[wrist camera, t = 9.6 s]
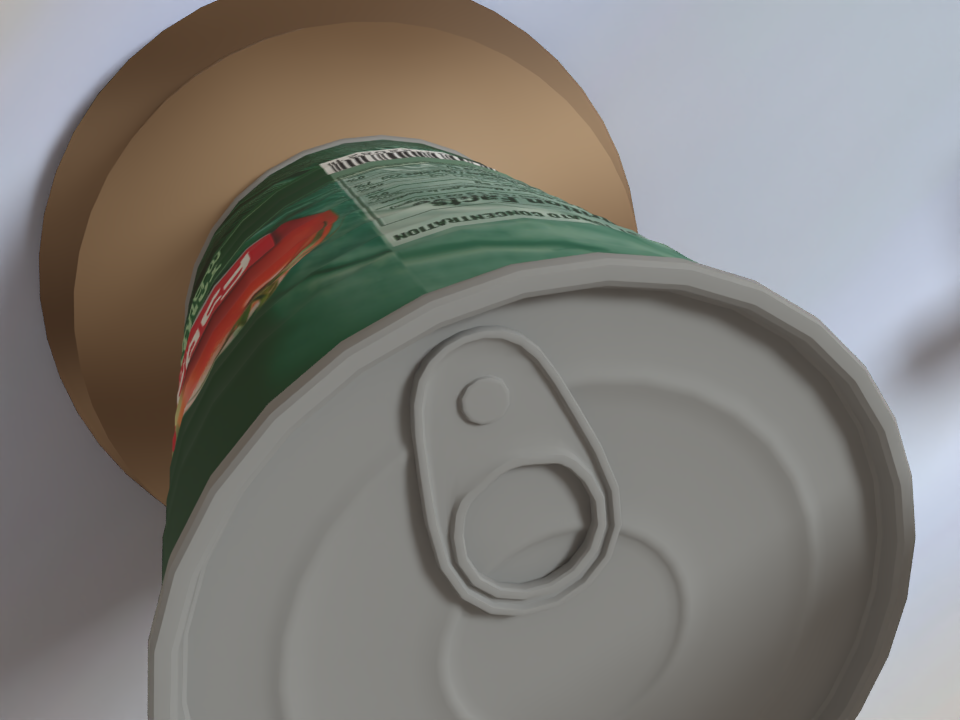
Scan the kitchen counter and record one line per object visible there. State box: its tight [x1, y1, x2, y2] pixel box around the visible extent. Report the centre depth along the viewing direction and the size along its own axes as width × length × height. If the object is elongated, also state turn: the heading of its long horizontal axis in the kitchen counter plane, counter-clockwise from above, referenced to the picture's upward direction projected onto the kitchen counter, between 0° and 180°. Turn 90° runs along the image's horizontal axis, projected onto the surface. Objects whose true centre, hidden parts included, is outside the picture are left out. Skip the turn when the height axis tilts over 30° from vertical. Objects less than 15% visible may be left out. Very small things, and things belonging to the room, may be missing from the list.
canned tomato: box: [148, 135, 915, 720], centre depth 13 cm, size 8×8×11 cm
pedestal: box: [39, 0, 638, 506], centre depth 20 cm, size 14×14×3 cm
